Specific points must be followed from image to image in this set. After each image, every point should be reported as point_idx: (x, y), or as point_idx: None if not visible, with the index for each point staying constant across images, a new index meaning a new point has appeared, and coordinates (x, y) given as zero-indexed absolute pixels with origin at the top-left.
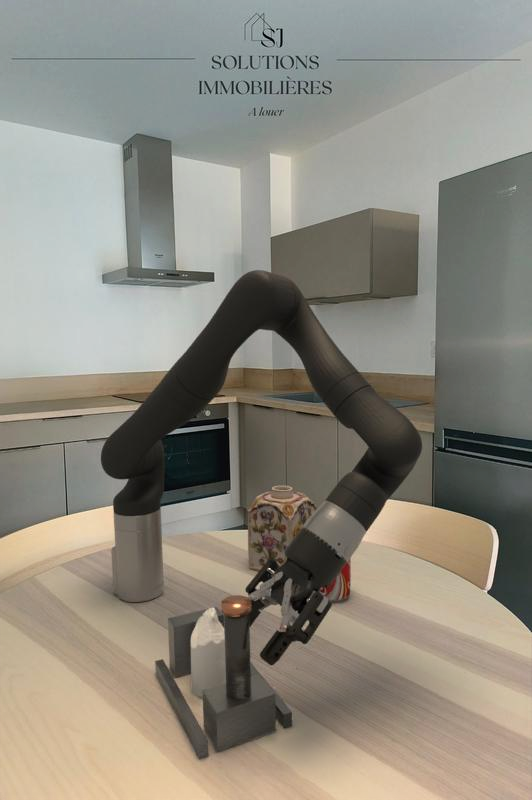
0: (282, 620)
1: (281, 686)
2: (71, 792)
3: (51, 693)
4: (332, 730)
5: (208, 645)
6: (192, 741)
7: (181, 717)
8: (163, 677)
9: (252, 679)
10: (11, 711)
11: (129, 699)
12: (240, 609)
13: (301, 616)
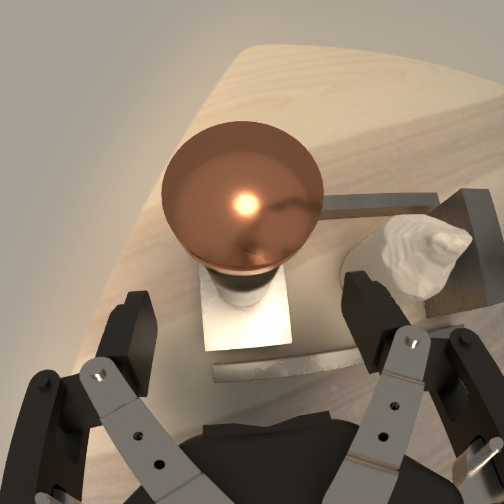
0: (119, 385)
1: (330, 401)
2: (219, 83)
3: (400, 86)
4: (182, 433)
5: (381, 236)
6: None
7: None
8: (393, 193)
9: (275, 322)
10: (373, 54)
11: (373, 154)
12: (163, 186)
13: (33, 431)
